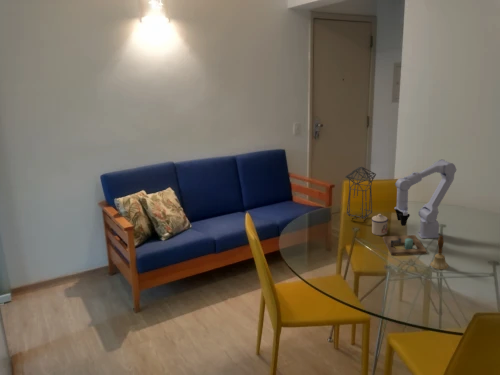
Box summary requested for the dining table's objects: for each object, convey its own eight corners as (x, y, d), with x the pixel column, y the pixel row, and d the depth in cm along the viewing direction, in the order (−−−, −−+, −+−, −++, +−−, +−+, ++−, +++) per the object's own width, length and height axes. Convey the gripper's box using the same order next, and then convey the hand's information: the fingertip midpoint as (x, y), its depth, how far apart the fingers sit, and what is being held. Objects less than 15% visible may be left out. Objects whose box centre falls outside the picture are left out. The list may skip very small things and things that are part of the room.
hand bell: (427, 262, 216) (428, 233, 211) (443, 260, 216) (445, 231, 212) (435, 270, 208) (437, 240, 203) (451, 268, 209) (454, 238, 204)
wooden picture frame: (415, 237, 244) (415, 235, 243) (426, 253, 225) (426, 251, 224) (382, 238, 245) (382, 236, 245) (391, 255, 226) (391, 252, 226)
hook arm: (400, 248, 233) (400, 238, 231) (400, 249, 232) (401, 239, 230) (390, 248, 233) (390, 238, 232) (391, 249, 232) (391, 239, 230)
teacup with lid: (384, 237, 247) (384, 218, 244) (369, 234, 253) (369, 215, 249) (391, 229, 256) (392, 211, 253) (376, 226, 262) (377, 208, 258)
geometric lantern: (352, 213, 285) (353, 162, 274) (375, 217, 276) (377, 165, 265) (342, 221, 273) (343, 168, 262) (366, 226, 264) (368, 171, 253)
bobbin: (403, 246, 234) (404, 238, 232) (411, 246, 234) (411, 238, 232) (405, 250, 230) (406, 241, 229) (413, 249, 230) (413, 241, 228)
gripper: (391, 195, 243) (391, 218, 248) (398, 204, 230) (397, 228, 234) (404, 195, 243) (403, 217, 247) (411, 204, 229) (410, 227, 233)
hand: (401, 222), depth 240 cm, fingers open, 7 cm apart
